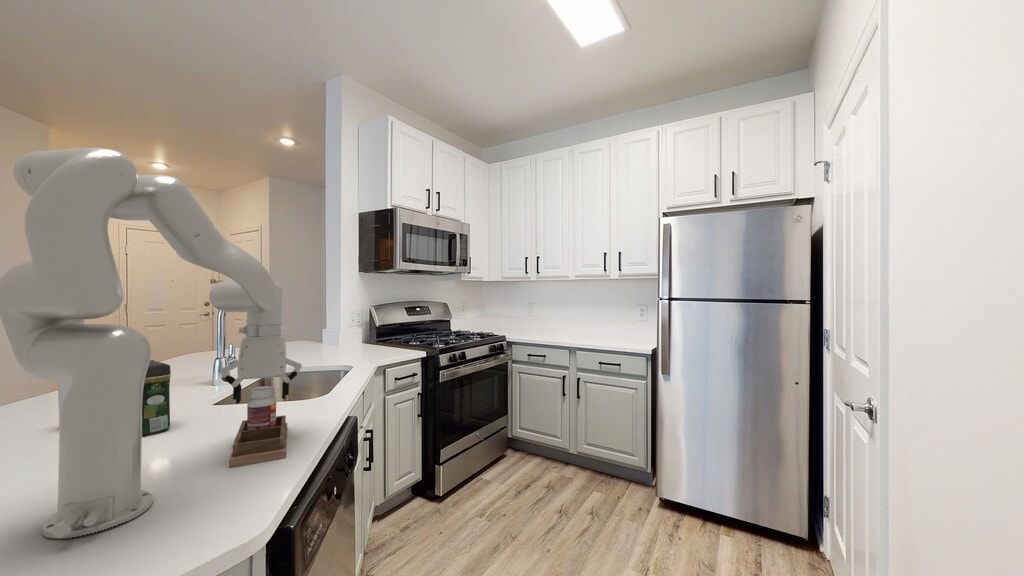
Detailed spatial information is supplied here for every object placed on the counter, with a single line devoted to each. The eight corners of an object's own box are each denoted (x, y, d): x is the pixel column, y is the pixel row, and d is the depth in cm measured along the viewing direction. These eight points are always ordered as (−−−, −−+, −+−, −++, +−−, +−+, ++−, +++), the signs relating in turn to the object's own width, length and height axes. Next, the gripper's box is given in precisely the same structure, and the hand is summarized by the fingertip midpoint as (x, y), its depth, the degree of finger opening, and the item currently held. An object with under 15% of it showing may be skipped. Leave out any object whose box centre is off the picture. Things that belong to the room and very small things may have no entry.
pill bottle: (276, 435, 98) (277, 389, 98) (246, 440, 95) (247, 392, 95) (275, 427, 103) (275, 384, 103) (247, 432, 100) (247, 387, 100)
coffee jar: (121, 432, 103) (122, 361, 103) (160, 423, 110) (161, 357, 110) (134, 439, 98) (135, 365, 98) (174, 430, 105) (175, 360, 105)
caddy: (285, 458, 88) (285, 440, 88) (228, 467, 83) (229, 448, 83) (287, 427, 107) (287, 413, 107) (241, 434, 102) (241, 418, 102)
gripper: (219, 333, 92) (216, 407, 91) (303, 331, 100) (300, 399, 99) (224, 331, 98) (221, 400, 98) (302, 329, 107) (300, 393, 106)
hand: (261, 400), depth 99 cm, fingers open, 9 cm apart
